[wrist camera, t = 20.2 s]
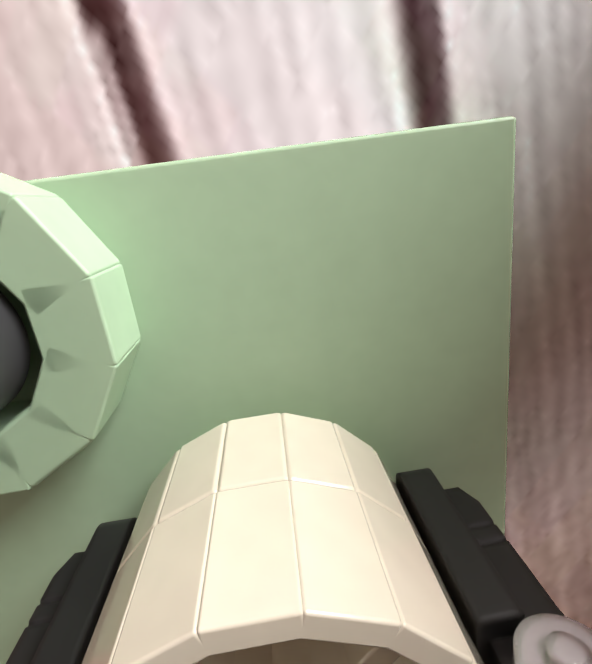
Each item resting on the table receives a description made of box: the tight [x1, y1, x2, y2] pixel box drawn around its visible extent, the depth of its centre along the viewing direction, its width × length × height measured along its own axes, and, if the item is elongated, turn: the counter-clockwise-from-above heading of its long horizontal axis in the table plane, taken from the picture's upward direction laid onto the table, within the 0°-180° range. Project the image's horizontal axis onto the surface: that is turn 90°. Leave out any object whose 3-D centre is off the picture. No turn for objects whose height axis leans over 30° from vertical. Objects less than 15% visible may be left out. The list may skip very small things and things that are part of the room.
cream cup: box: [82, 412, 484, 664], centre depth 8 cm, size 6×6×5 cm
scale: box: [0, 116, 516, 664], centre depth 9 cm, size 14×12×3 cm
